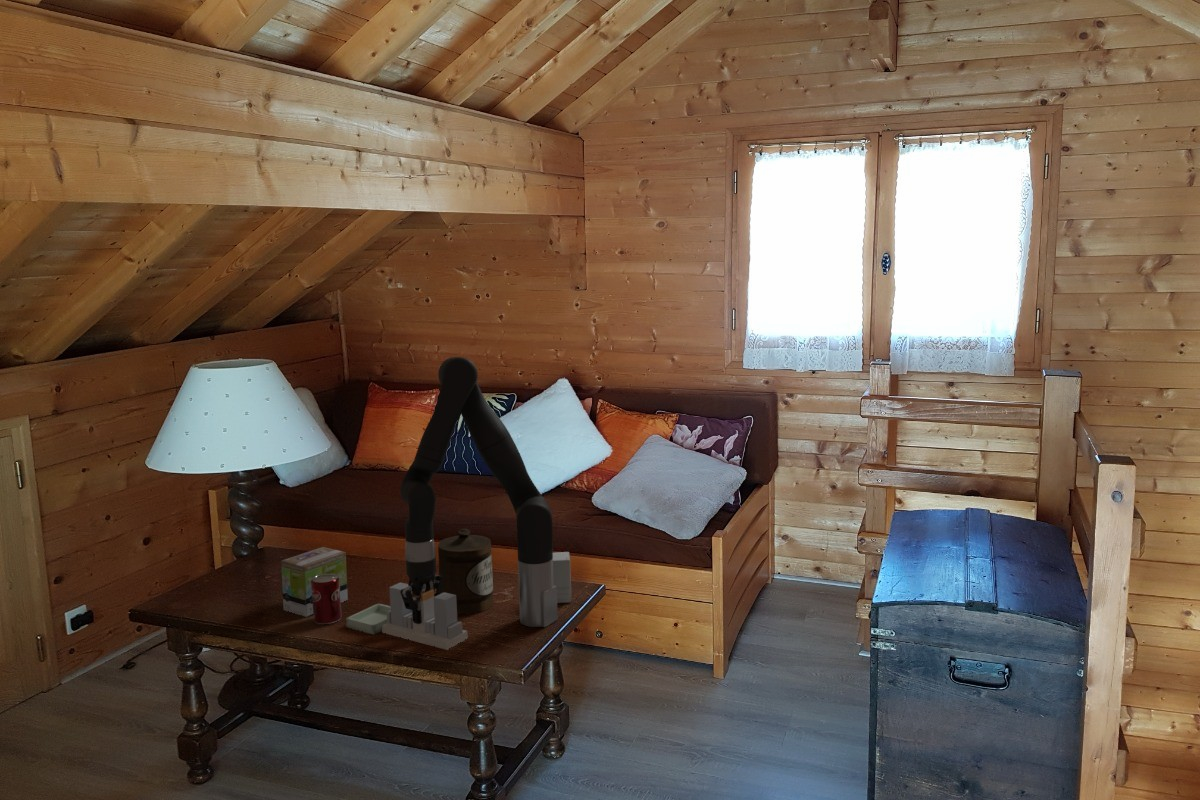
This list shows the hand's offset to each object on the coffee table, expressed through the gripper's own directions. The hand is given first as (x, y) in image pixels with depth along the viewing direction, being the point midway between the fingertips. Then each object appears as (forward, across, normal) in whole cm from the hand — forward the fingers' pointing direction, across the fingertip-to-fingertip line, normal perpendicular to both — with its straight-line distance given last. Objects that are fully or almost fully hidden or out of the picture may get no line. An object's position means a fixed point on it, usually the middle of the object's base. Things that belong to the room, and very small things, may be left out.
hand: (423, 619), depth 240 cm
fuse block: (+4, 0, 0) cm, 4 cm away
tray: (+4, 0, +17) cm, 18 cm away
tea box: (+5, +1, +41) cm, 41 cm away
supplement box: (+5, +38, -16) cm, 41 cm away
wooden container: (+5, +22, +4) cm, 23 cm away
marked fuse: (+2, 0, 0) cm, 2 cm away
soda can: (+4, -5, +30) cm, 31 cm away
